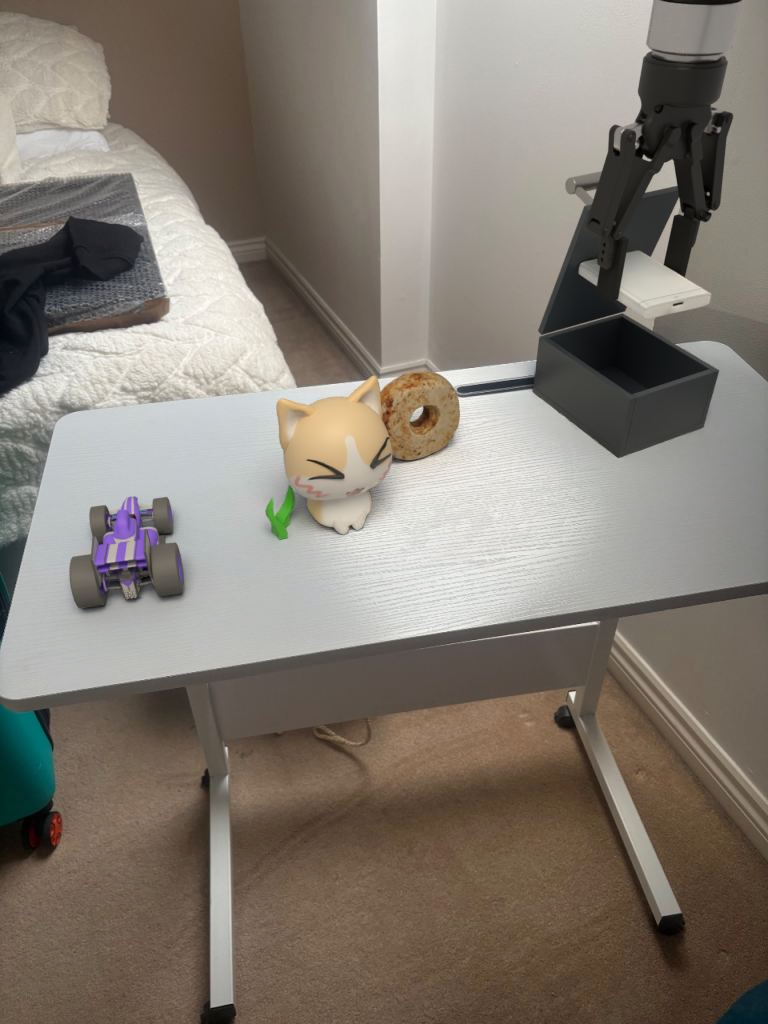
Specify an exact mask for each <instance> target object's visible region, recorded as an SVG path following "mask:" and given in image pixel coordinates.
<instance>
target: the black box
mask: <svg viewBox="0 0 768 1024" xmlns="http://www.w3.org/2000/svg"><path fill="white" fill-rule="evenodd" d="M719 373H720V369H718V368H717V367H715V366H713V365H711V364H710V363H708V362H706V361H705V360H703V359H702V358H699V357H698V356H696V355H695V354H693V353H691V352H690V351H688V350H686V349H684V348H683V347H681V346H679V345H677V344H676V343H674V342H672V341H671V340H669V339H667V338H666V337H664V336H663V335H661V334H659V333H658V332H656V331H654V330H652V329H650V328H649V327H647V326H645V324H642V323H640V322H638V321H637V320H635V319H634V318H631V317H630V316H628V315H626V314H625V313H624V312H622V313H618V314H614V315H611V316H607V317H604V318H600V319H597V320H593V321H590V322H586V323H582V324H579V325H575V326H572V327H568V328H565V329H561V330H557V331H554V332H550V333H547V334H543V335H540V336H538V344H537V353H536V361H535V368H534V378H533V384H532V385H533V386H532V393H534V394H535V395H536V396H537V397H539V398H540V399H542V401H544V402H545V403H546V404H548V405H549V406H550V407H552V408H553V409H554V410H555V411H557V412H558V413H560V414H561V415H562V416H563V417H565V418H566V419H567V420H569V422H571V423H573V424H574V425H575V426H576V427H578V428H579V429H580V430H582V431H583V432H584V433H585V434H587V435H588V436H589V437H591V438H592V439H593V440H594V441H596V442H597V443H598V444H600V446H602V447H603V448H605V449H606V450H608V452H610V453H611V454H613V455H614V457H617V458H619V459H620V458H623V457H624V456H628V455H631V454H633V453H636V452H639V451H642V450H644V449H647V448H649V447H653V446H656V445H658V444H660V443H664V442H666V441H670V440H672V439H675V438H678V437H681V436H683V435H686V434H689V433H691V432H694V431H697V430H701V429H703V428H704V427H705V424H706V420H707V416H708V413H709V409H710V406H711V402H712V398H713V395H714V391H715V388H716V384H717V381H718V377H719Z"/></svg>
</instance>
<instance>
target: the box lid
mask: <svg viewBox="0 0 768 1024" xmlns="http://www.w3.org/2000/svg"><path fill="white" fill-rule="evenodd" d="M601 173H602V170H601V171H596V172H591V173H585V174H581V175H575V176H571V177H568V178H567V179H566V180H565V184H564V186H565V187H564V188H565V191H566V193H567V194H568V195H576V196H577V197H578V198H579V199H580V201H581V202H582V203H583V204H584V206H583V208H582V211H581V213H580V217H579V219H578V222H577V224H576V227H575V230H574V232H573V235H572V238H571V240H570V244H569V246H568V249H567V251H566V254H565V257H564V259H563V262H562V264H561V267H560V270H559V273H558V276H557V278H556V281H555V284H554V286H553V289H552V291H551V294H550V297H549V300H548V303H547V305H546V308H545V310H544V313H543V316H542V319H541V322H540V323H539V327H538V328H537V329H538V330H537V332H538V333H539V334H540V336H544V335H547V334H550V333H554V332H557V331H561V330H564V329H568V328H572V327H575V326H579V325H582V324H586V323H589V322H593V321H596V320H600V319H604V318H607V317H611V316H614V315H618V314H622V313H625V312H627V311H626V310H627V309H628V307H627V306H625V305H624V304H622V303H621V302H619V301H618V300H613V301H612V300H611V299H609V298H607V297H606V296H604V295H602V294H600V293H599V292H597V291H596V288H597V286H596V285H594V284H593V283H591V282H590V281H588V280H587V279H585V278H584V277H583V276H581V275H580V274H579V266H580V264H581V263H582V262H585V261H589V260H594V259H597V258H598V252H599V246H600V240H601V236H600V235H598V234H596V233H594V232H592V231H590V230H588V229H587V228H586V222H587V219H588V216H589V212H590V209H591V206H592V202H593V199H594V197H592V196H591V195H590V194H589V193H588V192H591V191H594V190H595V191H596V189H597V186H598V183H599V179H600V176H601ZM678 201H679V193H678V187H677V185H674V186H670V187H664V188H660V189H655V190H651V191H647V192H646V191H645V193H644V195H643V197H642V199H641V201H640V203H639V205H638V207H637V209H636V211H635V213H634V215H633V217H632V219H631V221H630V223H629V225H628V227H627V229H626V231H625V233H624V235H623V236H624V237H626V238H628V239H629V242H628V247H627V252H633V251H641V252H643V253H644V254H646V255H648V256H650V257H651V258H652V255H653V254H654V252H655V249H656V247H657V246H658V243H659V241H660V239H661V237H662V234H663V233H664V230H665V228H666V226H667V223H668V222H669V220H670V217H671V215H672V213H673V211H674V209H675V207H676V205H677V203H678ZM613 224H614V225H616V222H615V221H614V223H613Z"/></svg>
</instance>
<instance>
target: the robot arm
mask: <svg viewBox="0 0 768 1024" xmlns="http://www.w3.org/2000/svg"><path fill="white" fill-rule="evenodd" d="M742 2H743V0H652V7H651V12H650V18H649V24H648V30H647V34H646V35H647V36H646V40H645V41H646V42H645V45H646V47H647V48H648V49H649V50H651V51H648V52H647V53H646V54H645V55H644V56H643V57H642V64H641V69H640V75H639V80H638V87H637V94H638V97H639V99H640V109H639V112H638V113H637V116H636V117H635V119H634V122H632V123H630V124H628V125H625V126H621V125H618V124H613V125H611V127H610V128H609V131H608V142H607V144H608V145H607V153H606V157H605V160H604V163H603V166H602V170H601V171H602V173H601V176H600V179H599V183H598V186H597V189H595V192H594V193H595V194H594V196H593V202H592V206H591V209H590V212H589V216H588V219H587V222H586V228H587V229H588V230H590V231H592V232H594V233H596V234H598V235H600V236H601V240H600V246H599V252H598V258H597V263H598V265H599V266H600V270H599V276H598V282H597V288H596V291H597V292H599V293H600V294H602V295H604V296H606V297H607V298H609V299H611V300H612V301H613V300H616V299H618V297H619V291H620V286H621V280H622V275H623V269H624V264H625V258H626V253H627V247H628V242H629V239H628V238H626V237H624V236H623V235H624V233H625V231H626V229H627V227H628V225H629V223H630V221H631V219H632V217H633V215H634V213H635V211H636V209H637V207H638V205H639V203H640V201H641V199H642V197H643V195H644V193H646V191H647V189H648V188H649V186H650V184H651V182H652V180H653V178H654V176H655V175H657V174H659V173H660V172H661V171H662V168H663V167H664V164H665V163H668V162H670V161H672V162H673V167H674V173H675V181H676V186H677V187H678V193H679V198H678V201H679V206H680V211H681V213H682V214H683V215H682V214H679V213H678V214H675V215H674V214H673V218H672V223H671V227H670V233H669V237H668V242H667V247H666V251H665V257H664V261H663V265H665V266H666V267H668V268H670V269H671V270H673V271H675V272H676V273H678V274H680V275H681V276H683V277H685V278H686V274H687V270H688V266H689V262H690V257H691V254H692V248H694V247H695V244H696V242H697V238H698V233H699V231H700V225H701V222H702V223H708V222H709V221H710V220H711V218H712V215H713V213H712V212H710V211H713V212H715V211H717V210H718V209H719V208H720V205H721V201H722V190H723V179H724V169H725V161H726V160H725V159H726V151H727V150H726V149H727V141H728V139H727V138H728V134H729V132H730V129H731V126H732V122H733V120H734V114H733V112H730V111H726V110H725V109H724V110H723V109H720V108H717V107H713V106H712V105H713V104H715V103H717V102H718V101H719V99H720V98H721V95H722V91H723V86H724V83H725V82H724V81H725V78H726V72H727V68H728V64H729V61H728V60H727V57H726V55H724V54H726V53H728V52H729V51H730V50H732V48H733V44H734V39H735V36H736V31H737V25H738V20H739V17H740V12H741V7H742ZM644 157H645V158H646V159H648V160H646V159H644ZM708 193H709V194H708ZM614 221H615V222H616V225H614V224H613V223H614Z"/></svg>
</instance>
